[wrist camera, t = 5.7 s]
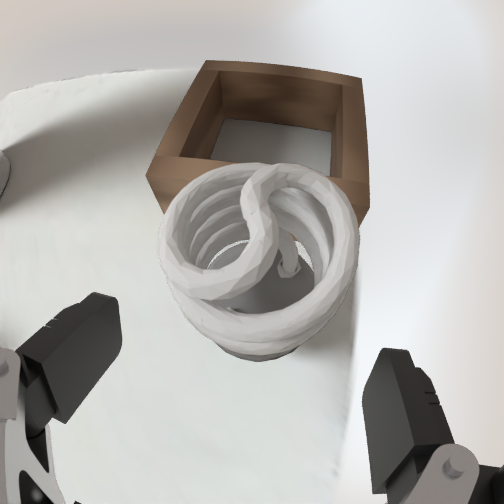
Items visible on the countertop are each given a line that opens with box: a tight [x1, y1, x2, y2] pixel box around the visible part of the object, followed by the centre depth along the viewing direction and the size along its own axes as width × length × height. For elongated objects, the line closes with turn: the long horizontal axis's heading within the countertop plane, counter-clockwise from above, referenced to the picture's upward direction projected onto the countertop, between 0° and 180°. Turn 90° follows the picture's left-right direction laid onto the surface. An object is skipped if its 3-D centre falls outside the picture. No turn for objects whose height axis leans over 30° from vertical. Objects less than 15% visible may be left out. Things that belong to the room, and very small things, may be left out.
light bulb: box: [158, 162, 360, 362], centre depth 13 cm, size 6×6×12 cm
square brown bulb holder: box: [145, 60, 370, 241], centre depth 21 cm, size 12×12×5 cm
